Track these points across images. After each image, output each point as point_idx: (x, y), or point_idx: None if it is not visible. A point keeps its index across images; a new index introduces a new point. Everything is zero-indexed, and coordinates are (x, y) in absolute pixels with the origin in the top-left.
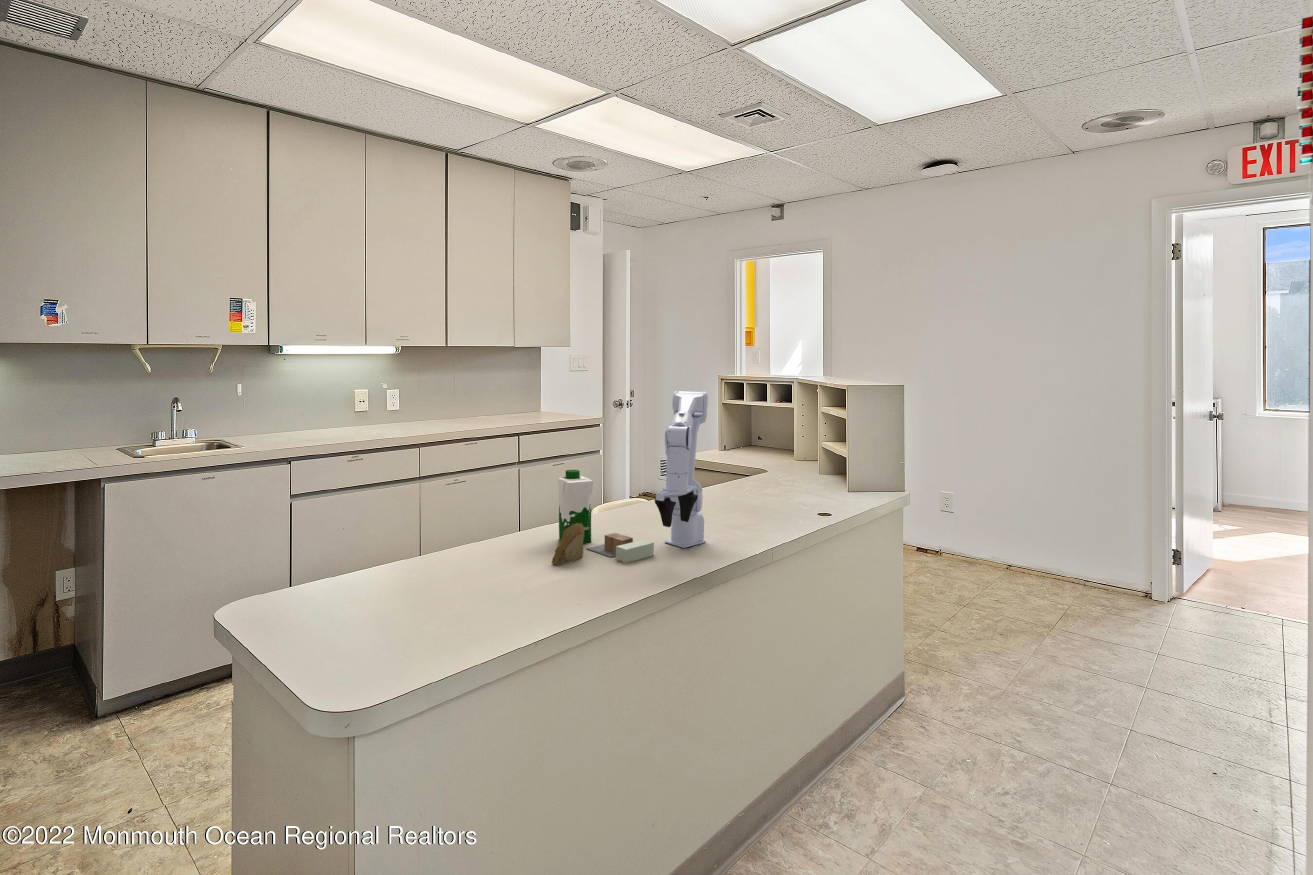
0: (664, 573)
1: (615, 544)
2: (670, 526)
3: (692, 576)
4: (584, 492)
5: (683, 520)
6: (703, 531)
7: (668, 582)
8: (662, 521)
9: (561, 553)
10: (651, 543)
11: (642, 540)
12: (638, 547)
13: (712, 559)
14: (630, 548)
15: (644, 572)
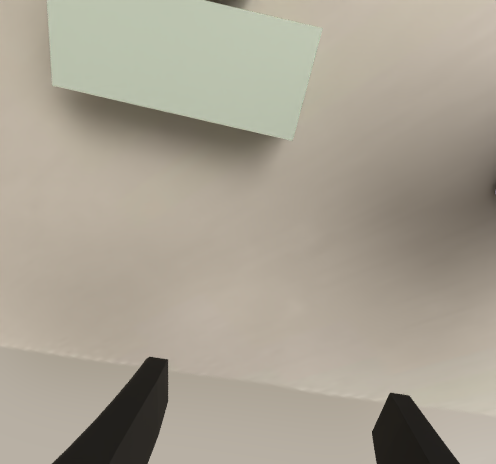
0: (118, 288)
1: None
2: (165, 403)
3: None
4: None
5: (384, 415)
6: None
7: (63, 332)
8: (126, 387)
9: None
10: (272, 135)
11: (298, 35)
12: (160, 108)
13: (374, 346)
14: (89, 92)
15: (69, 228)
